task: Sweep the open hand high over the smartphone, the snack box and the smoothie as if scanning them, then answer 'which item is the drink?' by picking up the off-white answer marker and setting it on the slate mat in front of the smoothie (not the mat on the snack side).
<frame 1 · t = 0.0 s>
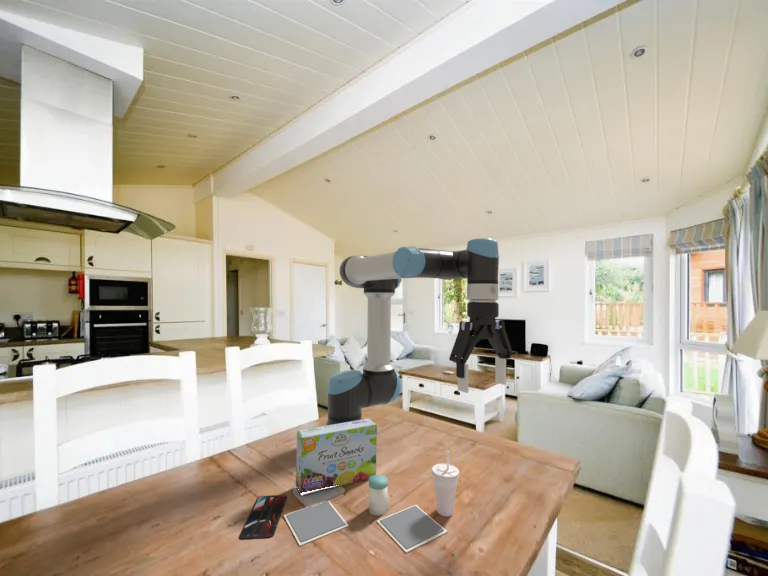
hand: (482, 387, 84), 28 cm above the table, fingers open, 13 cm apart
snack box: (337, 483, 92), on the table
mat drink: (411, 526, 74), on the table
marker: (378, 509, 80), on the table
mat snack: (315, 521, 76), on the table
smoothie: (445, 512, 80), on the table
smartphone: (265, 518, 78), on the table
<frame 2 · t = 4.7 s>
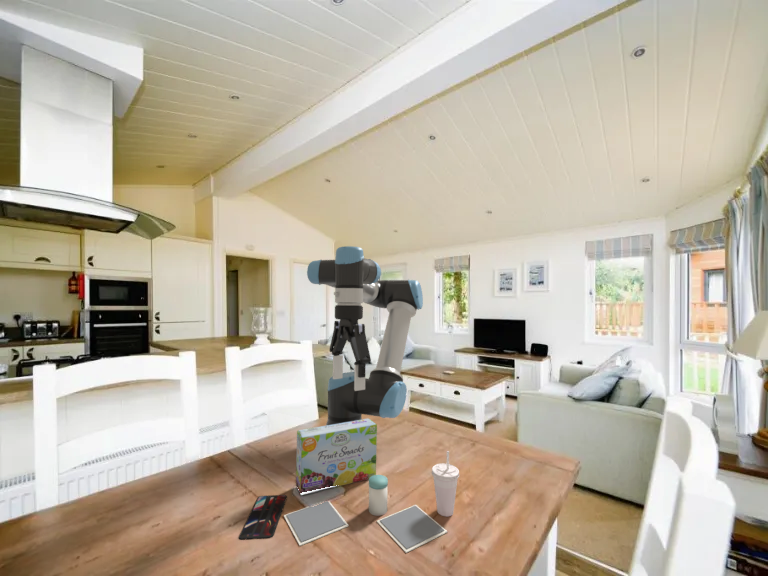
hand: (348, 384, 91), 27 cm above the table, fingers open, 13 cm apart
nothing on the table moved.
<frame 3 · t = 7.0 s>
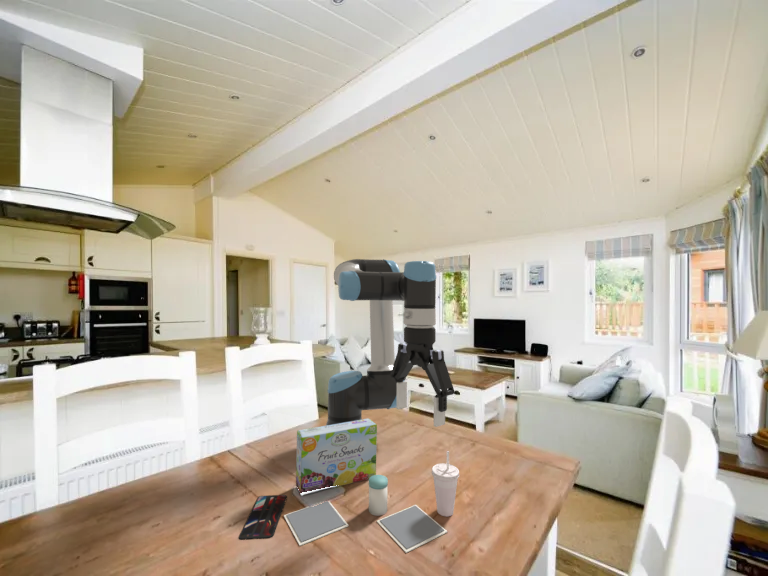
hand: (419, 416, 81), 22 cm above the table, fingers open, 13 cm apart
nothing on the table moved.
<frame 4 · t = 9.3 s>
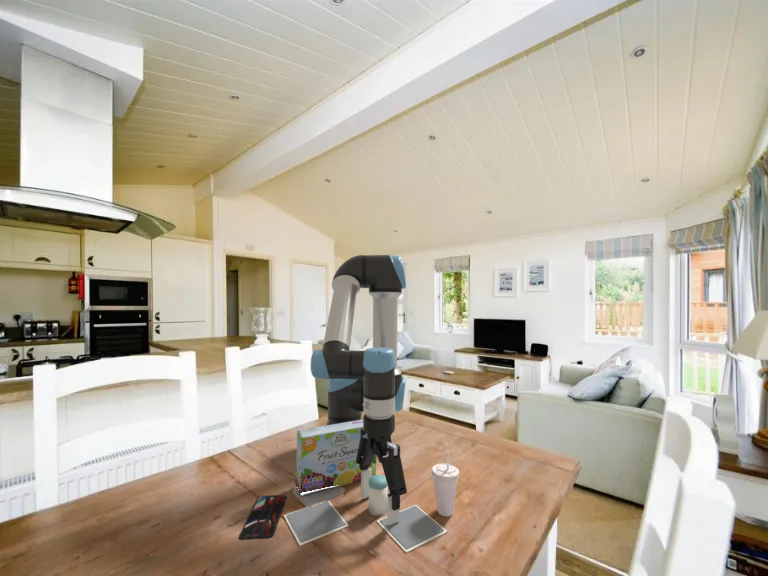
hand: (379, 508, 80), 1 cm above the table, fingers open, 11 cm apart
nothing on the table moved.
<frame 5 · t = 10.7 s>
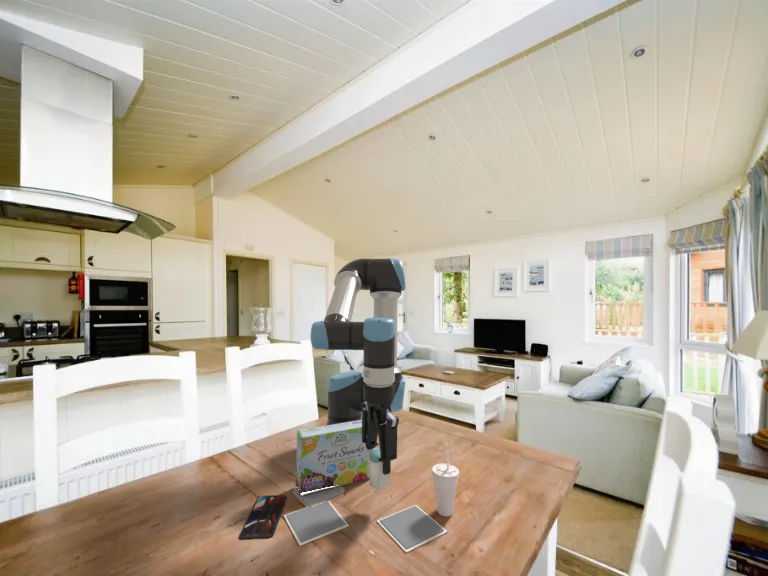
hand: (378, 480, 81), 6 cm above the table, fingers closed on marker, 4 cm apart
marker: (378, 482, 81), point 6 cm above the table, touching gripper
everything else where it was.
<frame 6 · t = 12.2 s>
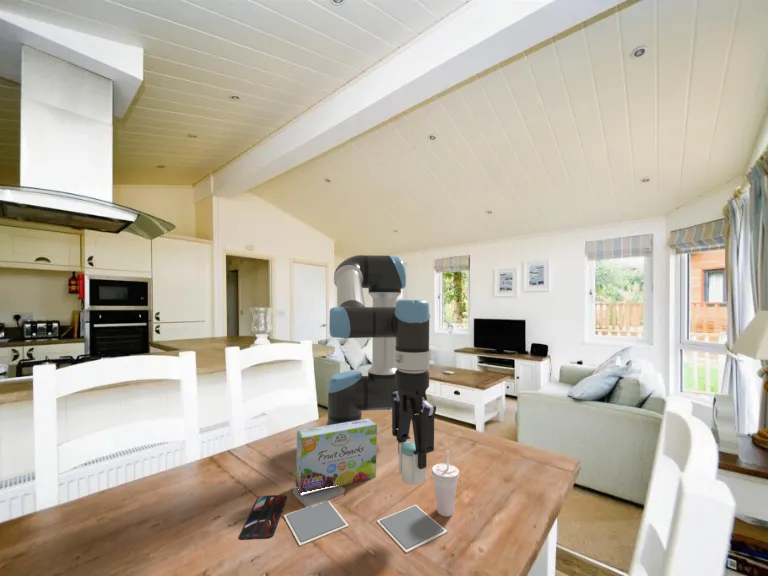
hand: (411, 476, 75), 11 cm above the table, fingers closed on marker, 4 cm apart
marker: (411, 479, 75), point 10 cm above the table, touching gripper
everything else where it was.
when the fingers open (1 cm above the table, at t = 14.0 s): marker stays where it is, resting on mat drink.
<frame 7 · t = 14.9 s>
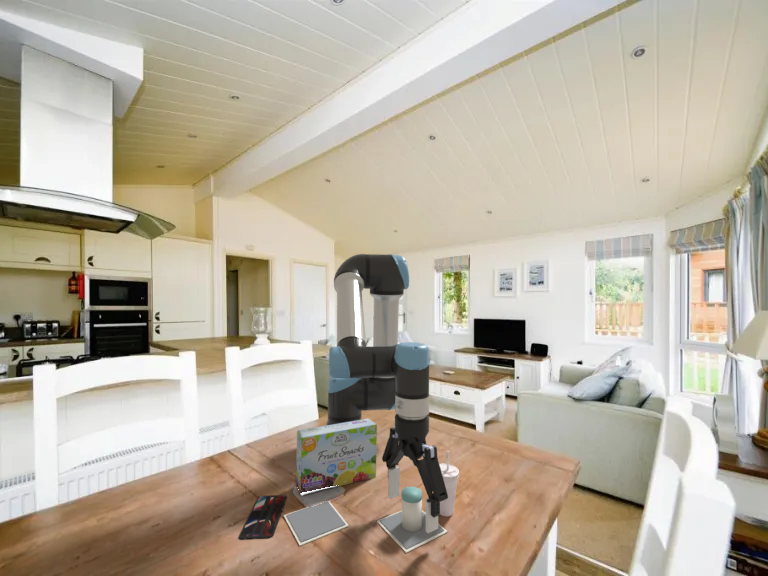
hand: (411, 512, 75), 3 cm above the table, fingers open, 13 cm apart
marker: (411, 524, 75), resting on mat drink
everything else where it was.
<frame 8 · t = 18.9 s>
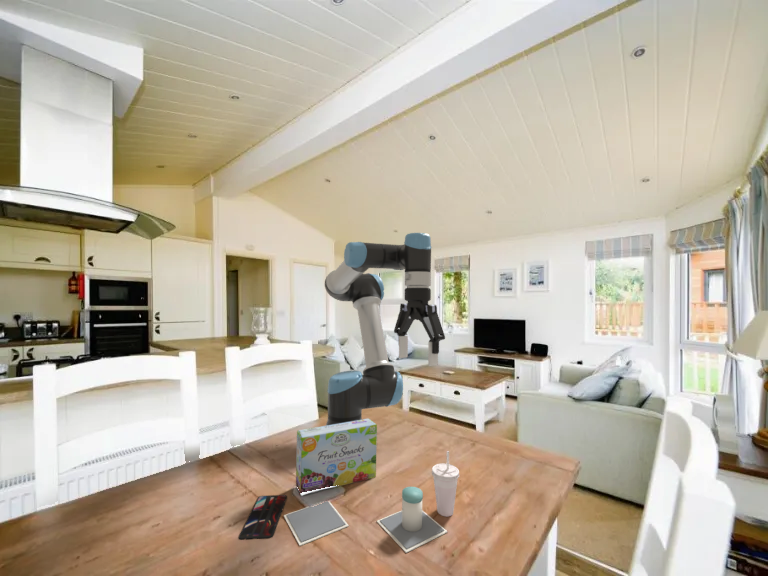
hand: (417, 361, 98), 32 cm above the table, fingers open, 13 cm apart
nothing on the table moved.
at the end: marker inside the target area (0.1 cm from its centre), resting on mat drink; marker 9.9 cm from the smoothie (horizontally); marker tilted 1° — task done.
